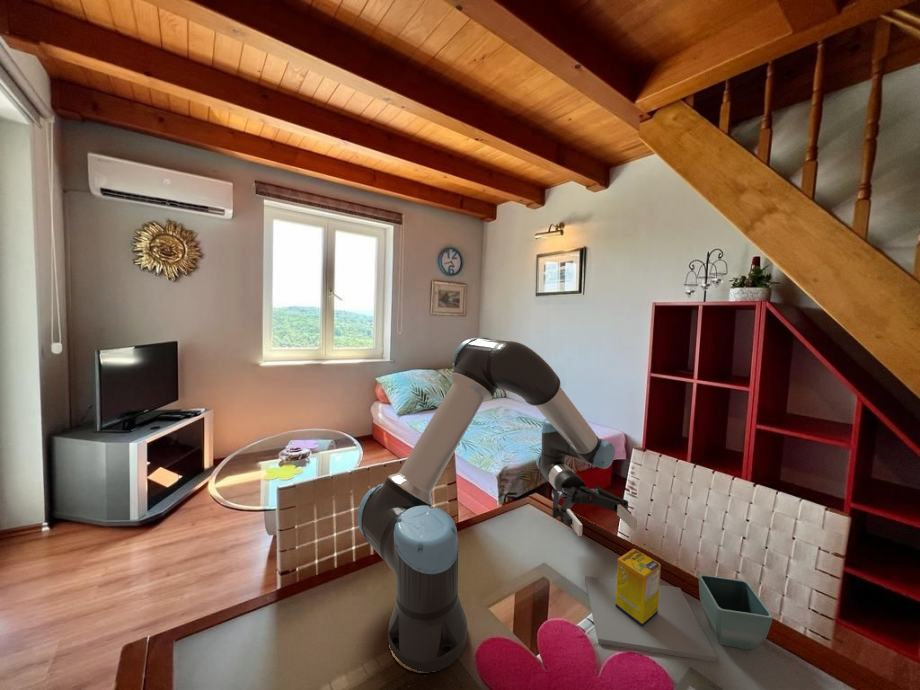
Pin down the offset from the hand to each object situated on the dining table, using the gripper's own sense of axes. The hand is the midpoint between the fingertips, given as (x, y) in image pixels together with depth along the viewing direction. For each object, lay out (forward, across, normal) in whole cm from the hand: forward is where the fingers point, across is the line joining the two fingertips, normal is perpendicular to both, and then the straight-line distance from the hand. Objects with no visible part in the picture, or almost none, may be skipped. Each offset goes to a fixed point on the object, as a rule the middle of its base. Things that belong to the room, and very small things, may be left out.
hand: (608, 527), depth 84 cm
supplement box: (+11, 0, -11) cm, 16 cm away
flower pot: (+18, -15, -12) cm, 26 cm away
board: (+11, -2, -12) cm, 16 cm away
